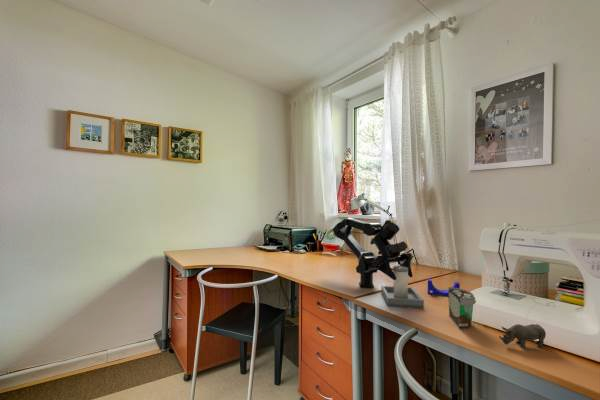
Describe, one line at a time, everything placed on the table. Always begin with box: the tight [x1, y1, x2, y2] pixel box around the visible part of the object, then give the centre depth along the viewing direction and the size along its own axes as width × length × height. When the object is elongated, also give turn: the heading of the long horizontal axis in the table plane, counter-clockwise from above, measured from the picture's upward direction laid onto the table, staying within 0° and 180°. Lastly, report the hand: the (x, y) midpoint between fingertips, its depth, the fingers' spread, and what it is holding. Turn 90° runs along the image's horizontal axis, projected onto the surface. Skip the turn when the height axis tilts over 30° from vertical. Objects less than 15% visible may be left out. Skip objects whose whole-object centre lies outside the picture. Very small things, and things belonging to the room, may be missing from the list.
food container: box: [447, 286, 477, 330], centre depth 92 cm, size 12×6×10 cm, turn 168°
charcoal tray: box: [380, 285, 425, 309], centre depth 113 cm, size 16×13×3 cm
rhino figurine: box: [498, 323, 546, 350], centre depth 78 cm, size 4×14×6 cm, turn 94°
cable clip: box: [427, 278, 461, 297], centre depth 121 cm, size 12×4×6 cm, turn 69°
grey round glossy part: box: [392, 265, 409, 299], centre depth 113 cm, size 6×6×12 cm
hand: (403, 278), depth 112 cm, fingers open, 9 cm apart
